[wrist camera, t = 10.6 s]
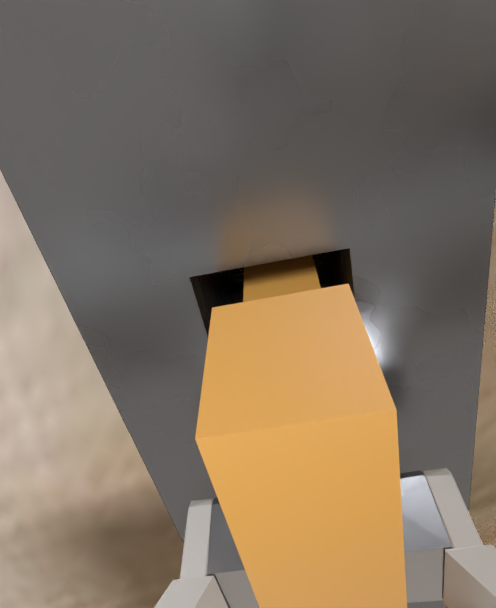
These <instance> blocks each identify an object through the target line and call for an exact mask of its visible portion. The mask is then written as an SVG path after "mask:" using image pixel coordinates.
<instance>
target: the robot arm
mask: <svg viewBox="0 0 496 608" xmlns="http://www.w3.org/2000/svg"><path fill="white" fill-rule="evenodd" d="M400 484H401V502H402V520H403V539H404V557H405V575H406V594H407V603H412V602H426V601H440V600H443V603H444V604H445V605H446V606H447V608H496V547H494V546H493V545H492V544H487V545H483V542H482V540H481V538H480V536H479V534H478V531H477V529H476V527H475V525H474V522H473V520H472V518H471V516H470V513H469V511H468V509H467V507H466V505H465V502H464V500H463V498H462V496H461V493H460V491H459V489H458V487H457V484H456V482H455V480H454V478H453V476H452V473H451V472H450V471H449V470H448V469H447V468H438V469H432V470H425V471H421V470H419V471H412V472H405V473H400ZM154 608H260V607H259V605H258V602H257V600H256V597H255V594H254V592H253V589H252V586H251V584H250V581H249V579H248V576H247V573H246V571H245V568H244V566H243V563H242V560H241V558H240V555H239V553H238V550H237V547H236V545H235V542H234V539H233V537H232V534H231V532H230V529H229V526H228V524H227V521H226V519H225V516H224V513H223V511H222V508H221V505H220V503H219V500H218V498H208V499H200V500H193V501H191V503H190V506H189V508H188V515H187V523H186V531H185V539H184V547H183V555H182V564H181V572H180V579H174V580H172V582H171V583H170V585H169V586H168V588H167V589H166V590H165V592H164V593H163V595H162V596H161V598H160V599H159V601H158V602H157V604H156V605H155V607H154Z"/></svg>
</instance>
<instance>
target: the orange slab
mask: <svg viewBox="0 0 496 608" xmlns="http://www.w3.org/2000/svg"><path fill="white" fill-rule="evenodd" d="M195 440H196V443H197V445H198V448H199V451H200V453H201V456H202V458H203V461H204V464H205V466H206V469H207V471H208V474H209V477H210V479H211V482H212V485H213V487H214V490H215V492H216V495H217V498H218V500H219V503H220V505H221V508H222V511H223V513H224V516H225V519H226V521H227V524H228V526H229V529H230V532H231V534H232V537H233V539H234V542H235V545H236V547H237V550H238V553H239V555H240V558H241V560H242V563H243V566H244V568H245V571H246V573H247V576H248V579H249V581H250V584H251V586H252V589H253V592H254V594H255V597H256V600H257V602H258V605H259V607H260V608H407V594H406V575H405V557H404V539H403V520H402V502H401V484H400V465H399V447H398V429H397V410H396V407H395V404H394V402H393V399H392V397H391V394H390V391H389V389H388V386H387V383H386V381H385V378H384V376H383V373H382V370H381V368H380V365H379V362H378V360H377V357H376V354H375V352H374V349H373V347H372V344H371V341H370V339H369V336H368V333H367V331H366V328H365V326H364V323H363V320H362V318H361V315H360V312H359V310H358V307H357V304H356V302H355V299H354V297H353V294H352V291H351V289H350V286H349V284H343V285H337V286H332V287H326V288H321V287H320V283H319V279H318V275H317V272H316V268H315V264H314V261H313V257H312V255H308V256H303V257H297V258H292V259H286V260H281V261H275V262H270V263H264V264H259V265H253V266H248V267H244V292H243V302H241V303H236V304H230V305H224V306H219V307H213V308H212V312H211V320H210V328H209V335H208V343H207V351H206V359H205V366H204V374H203V382H202V389H201V397H200V405H199V413H198V420H197V428H196V436H195Z"/></svg>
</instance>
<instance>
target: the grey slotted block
mask: <svg viewBox="0 0 496 608" xmlns="http://www.w3.org/2000/svg"><path fill="white" fill-rule="evenodd" d="M0 170H1V172H2V174H3V176H4V178H5V180H6V182H7V184H8V186H9V188H10V190H11V192H12V194H13V196H14V198H15V200H16V202H17V205H18V207H19V209H20V211H21V213H22V215H23V217H24V219H25V221H26V223H27V225H28V227H29V229H30V231H31V233H32V235H33V237H34V239H35V241H36V243H37V245H38V247H39V249H40V251H41V253H42V255H43V258H44V260H45V262H46V264H47V266H48V268H49V270H50V272H51V274H52V276H53V278H54V280H55V282H56V284H57V286H58V288H59V290H60V292H61V294H62V296H63V298H64V300H65V302H66V304H67V306H68V309H69V311H70V313H71V315H72V317H73V319H74V321H75V323H76V325H77V327H78V329H79V331H80V333H81V335H82V337H83V339H84V341H85V343H86V345H87V347H88V349H89V351H90V353H91V355H92V357H93V360H94V362H95V364H96V366H97V368H98V370H99V372H100V374H101V376H102V378H103V380H104V382H105V384H106V386H107V388H108V390H109V392H110V394H111V396H112V398H113V400H114V402H115V404H116V406H117V408H118V411H119V413H120V415H121V417H122V419H123V421H124V423H125V425H126V427H127V429H128V431H129V433H130V435H131V437H132V439H133V441H134V443H135V445H136V447H137V449H138V451H139V453H140V455H141V457H142V459H143V462H144V464H145V466H146V468H147V470H148V472H149V474H150V476H151V478H152V480H153V482H154V484H155V486H156V488H157V490H158V492H159V494H160V496H161V498H162V500H163V502H164V504H165V506H166V508H167V510H168V513H169V515H170V517H171V519H172V521H173V523H174V525H175V527H176V529H177V531H178V533H179V535H180V537H181V539H182V541H183V543H184V539H185V531H186V523H187V515H188V508H189V506H190V503H191V501H193V500H200V499H208V498H217V495H216V492H215V490H214V487H213V485H212V482H211V479H210V477H209V474H208V471H207V469H206V466H205V464H204V461H203V458H202V456H201V453H200V451H199V448H198V445H197V443H196V440H195V436H196V428H197V420H198V413H199V405H200V397H201V389H202V382H203V374H204V366H205V359H206V351H207V343H208V335H209V328H210V320H211V312H212V308H213V307H219V306H224V305H230V304H236V303H241V302H243V292H244V272H243V273H237V274H232V271H231V269H237V268H242V267H248V266H253V265H259V264H264V263H270V262H275V261H281V260H286V259H292V258H297V257H303V256H308V255H314V254H319V253H325V258H320V259H315V260H313V261H314V264H315V268H316V272H317V275H318V279H319V283H320V287H321V288H326V287H332V286H337V285H343V284H349V286H350V289H351V291H352V294H353V297H354V299H355V302H356V304H357V307H358V310H359V312H360V315H361V318H362V320H363V323H364V326H365V328H366V331H367V333H368V336H369V339H370V341H371V344H372V347H373V349H374V352H375V354H376V357H377V360H378V362H379V365H380V368H381V370H382V373H383V376H384V378H385V381H386V383H387V386H388V389H389V391H390V394H391V397H392V399H393V402H394V404H395V407H396V410H397V429H398V447H399V465H400V473H405V472H412V471H419V470H421V471H425V470H432V469H438V468H447V469H448V470H449V471H450V472H451V473H452V476H453V478H454V480H455V482H456V484H457V487H458V489H459V491H460V493H461V496H462V498H463V500H464V502H465V505H466V507H467V509H468V511H469V501H470V489H471V477H472V465H473V454H474V442H475V430H476V418H477V407H478V395H479V383H480V371H481V360H482V348H483V336H484V324H485V312H486V301H487V289H488V277H489V265H490V254H491V242H492V230H493V218H494V207H495V195H496V0H0ZM407 608H447V606H446V605H445V604H444V603H443V600H440V601H426V602H412V603H407Z"/></svg>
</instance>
